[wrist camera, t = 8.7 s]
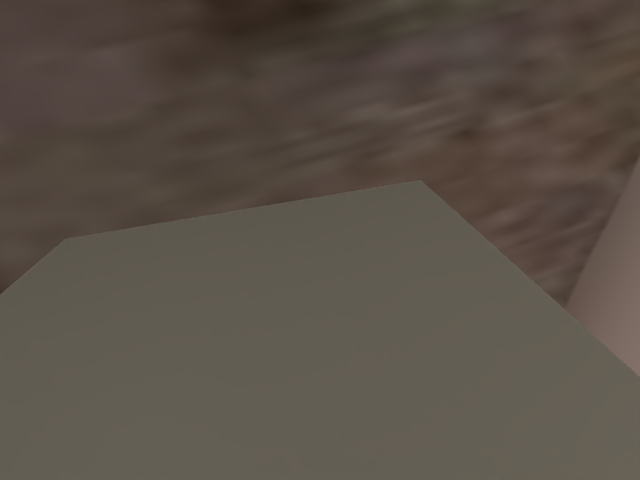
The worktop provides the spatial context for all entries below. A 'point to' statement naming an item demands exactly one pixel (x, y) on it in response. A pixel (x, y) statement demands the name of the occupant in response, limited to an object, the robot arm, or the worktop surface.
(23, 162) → the worktop surface
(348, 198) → the pale sage box
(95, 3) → the worktop surface
